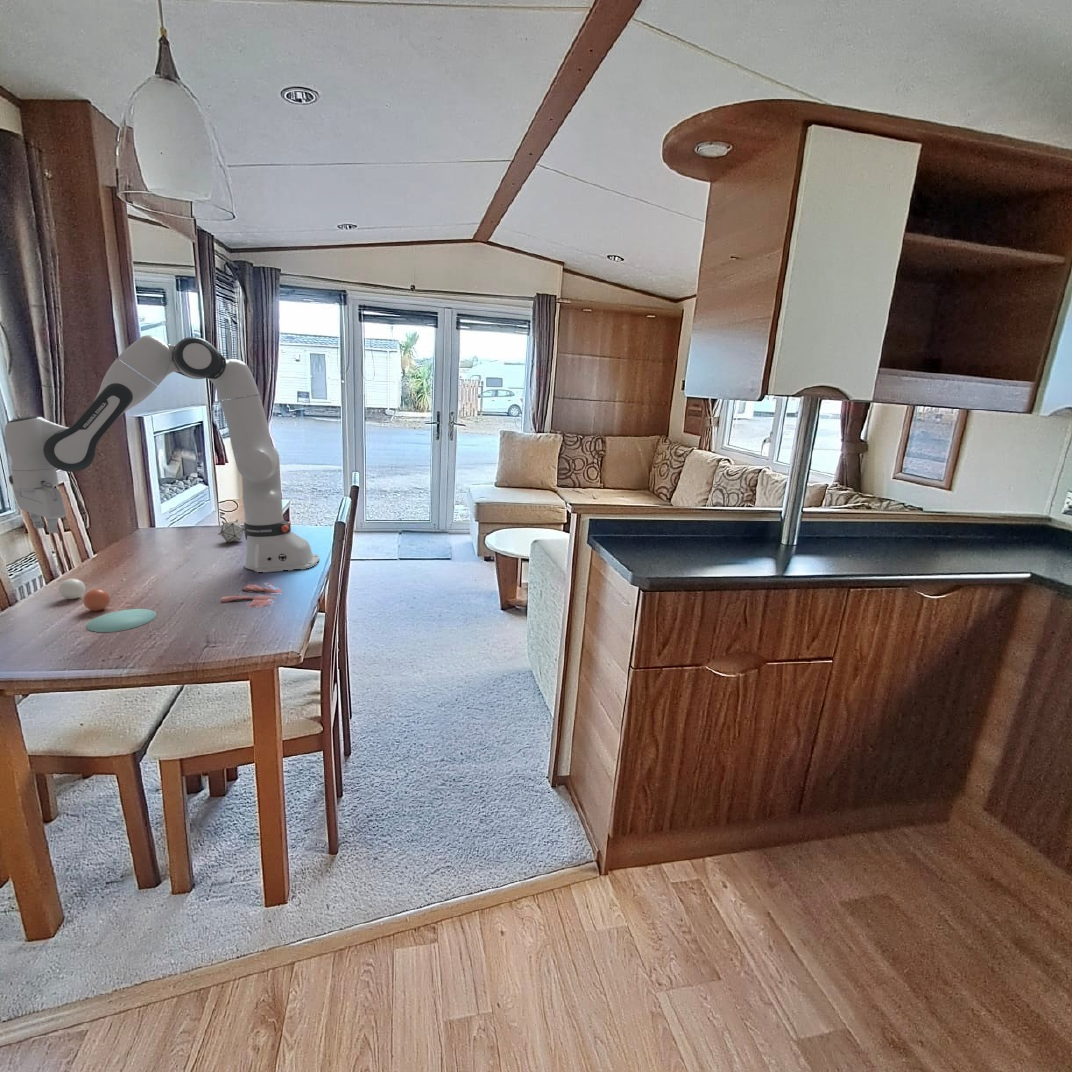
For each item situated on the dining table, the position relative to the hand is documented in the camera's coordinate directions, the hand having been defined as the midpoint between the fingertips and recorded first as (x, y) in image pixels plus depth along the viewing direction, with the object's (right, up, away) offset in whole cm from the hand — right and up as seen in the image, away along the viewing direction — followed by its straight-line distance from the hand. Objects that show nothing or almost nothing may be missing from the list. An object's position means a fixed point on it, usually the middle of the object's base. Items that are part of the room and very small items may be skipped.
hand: (46, 530), depth 154 cm
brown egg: (+20, -18, -8) cm, 28 cm away
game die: (+21, -4, +56) cm, 60 cm away
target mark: (+30, -22, -13) cm, 40 cm away
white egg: (+8, -16, -1) cm, 17 cm away
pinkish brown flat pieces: (+52, -19, +6) cm, 56 cm away
